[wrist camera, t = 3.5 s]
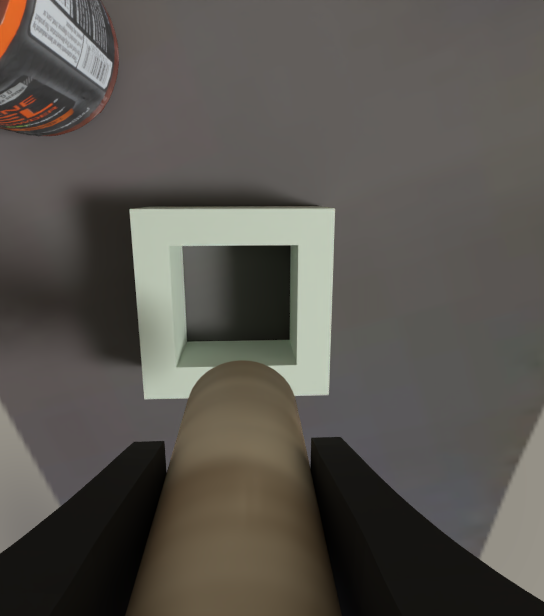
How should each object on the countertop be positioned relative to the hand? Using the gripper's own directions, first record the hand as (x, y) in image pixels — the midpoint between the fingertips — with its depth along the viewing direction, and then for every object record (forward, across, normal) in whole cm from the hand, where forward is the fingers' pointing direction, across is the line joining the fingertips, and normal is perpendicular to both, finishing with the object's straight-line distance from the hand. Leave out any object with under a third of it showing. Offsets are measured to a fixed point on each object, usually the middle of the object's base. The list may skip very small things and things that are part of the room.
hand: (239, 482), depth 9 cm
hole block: (+11, 0, -2) cm, 11 cm away
